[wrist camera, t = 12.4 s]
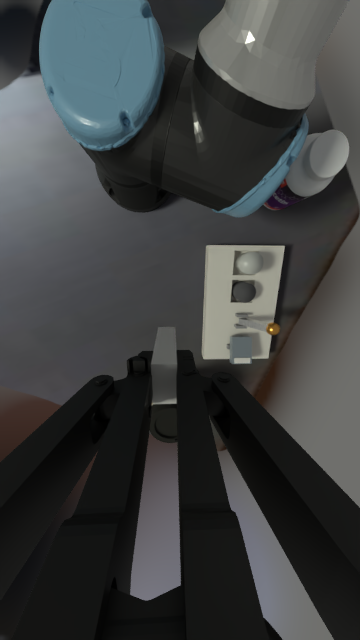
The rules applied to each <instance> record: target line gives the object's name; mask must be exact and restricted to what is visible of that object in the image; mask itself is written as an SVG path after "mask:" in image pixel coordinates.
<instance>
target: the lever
mask: <svg viewBox="0 0 360 640" xmlns="http://www.w3.org/2000/svg"><path fill="white" fill-rule="evenodd" d="M238 324H239V325H243V326H246V327H250V328H254V329H257V330H261V331H264V332H267V333H268V334H270V335H276V334H278V333H279V331H280V326H279V325H278V324H277V323H275V322H271V323H267V322H263V321H259V320H254V319H250V318H246V317H241V318H239V322H238Z"/></svg>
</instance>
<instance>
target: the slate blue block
mask: <svg viewBox="0 0 360 640" xmlns="http://www.w3.org/2000/svg"><path fill="white" fill-rule="evenodd" d="M230 363H232V364H252V337H250V336H230Z"/></svg>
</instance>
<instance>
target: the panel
mask: <svg viewBox="0 0 360 640" xmlns="http://www.w3.org/2000/svg"><path fill="white" fill-rule="evenodd" d="M284 249H285V246H249V245H208V246H206V263H205V287H204V312H203V337H202V356H203V359H230V336H250V337H252V359H255V358H268V356H269V350H270V343H271V336H272V335H270V334H268V333H267V332H264V331H261V330H257V329H254V328H250V327H246V326H243V325H239V324H238V322H239V318H241V317H246V318H250V319H254V320H259V321H263V322H267V323H271V322H274V316H275V309H276V303H277V296H278V289H279V283H280V276H281V269H282V262H283V256H284ZM247 252H257V253H259V254H261V256H262V257H263V261H264V263H263V267H262V269H261V270H260V271H259V272H258V273H256V274H253V275H250V274H245V273H241V272H239V271H238V270H237V268H236V259H237V258H238V256H239V255H241V254H242V253H247ZM238 281H244V282H247V283H251V284H252V285H254V287H255V288H256V295H255V297H254V299H253V300H252V301H250V302H248V303H243V302H240V301H239V300H237V299H235V298H234V297H233V296H232V294H231V290H232V286H233V284H234V283H236V282H238Z"/></svg>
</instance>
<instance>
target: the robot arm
mask: <svg viewBox="0 0 360 640" xmlns="http://www.w3.org/2000/svg"><path fill="white" fill-rule="evenodd" d="M348 2H349V0H226V2H225V5H224V7H223V9H222V11H221V12H220V13H219V14H218V15H217V16H216V17H215V18H214V19H213V20H212V21H211V22H210V23H209V24H208V25H207V26H206V27H205V28H204V29H203V30H202V31H201V32H200V35H199V39H198V44H197V50H196V55H195V60H192V59H190V58H188V57H186V56H184V55H182V54H180V53H178V52H176V51H174V50H172V49H170V48H168V47H166V46H164V44H163V37H162V34H161V30H160V28H159V25H158V23H157V21H156V19H155V18H154V17H153V15H152V12H151V7H150V5H149V3H148V1H147V0H52V1H51V3H50V5H49V7H48V9H47V12H46V15H45V17H44V21H43V24H42V29H41V34H40V44H39V56H40V68H41V74H42V78H43V82H44V86H45V89H46V92H47V94H48V97H49V99H50V101H51V103H52V105H53V107H54V109H55V111H56V112H57V114H58V115H59V117H60V118H61V120H62V121H63V124H64V126H65V128H66V130H67V131H68V133H69V134H70V135H71V136H72V137H73V138H74V139H75V140H76V141H77V142H78V143H79V144H80V145H81V146H82V148H83V149H84V150H85V151H86V153H87V154H88V155H89V156H90V158H91V159H92V160H93V161H94V163H95V166H96V171H97V175H98V178H99V180H100V182H101V184H102V186H103V188H104V189H105V191H106V192H107V194H108V195H109V196H110V197H111V198H112V199H113V200H114V201H115V202H116V203H117V204H118V205H120V206H121V207H123V208H125V209H127V210H130V211H133V212H148V211H151V210H154V209H156V208H158V207H159V206H161V205H162V204H163V203H164V202H165V201H166V200H167V199H168V197H169V196H170V194H171V193H174V194H176V195H179V196H181V197H184V198H186V199H189V200H191V201H194V202H196V203H199V204H201V205H204V206H206V207H209V208H211V209H212V210H213V211H214V212H216V213H225V214H227V215H230V216H233V217H246V216H248V215H250V214H252V213H254V212H255V211H256V210H258V209H259V208H260V207H261V206H262V205H263V204H264V203H265V202H266V201H267V200H268V199H269V198H270V197H271V196H272V195H273V193H274V192H275V191H276V190H277V188H278V187H279V186H280V184H281V183H282V182H283V180H284V179H285V177H286V176H287V174H288V173H289V171H290V165H291V164H292V163H293V162H294V161H295V160H296V159H297V157H298V155H299V153H300V152H301V150H302V147H303V145H304V143H305V140H306V137H307V134H308V125H309V122H308V119H307V117H306V114H305V111H306V110H307V108H308V107H309V105H310V103H311V102H312V100H313V98H314V96H315V66H316V61H317V58H318V56H319V54H320V52H321V50H322V49H323V47H324V45H325V43H326V42H327V40H328V38H329V36H330V34H331V33H332V31H333V29H334V27H335V25H336V24H337V22H338V20H339V18H340V16H341V15H342V13H343V11H344V9H345V8H346V6H347V4H348ZM127 369H128V375H127V377H126V378H124V379H121V380H117V381H114V380H113V377H112V376H109V375H100V376H97V377H94V378H93V379H91V380H90V381H89V382H88V383H87V384H86V385H84V386H83V387H82V388H81V389H80V390H79V391H78V392H77V393H76V394H75V395H73V396H72V397H71V398H70V399H69V400H68V401H67V402H66V403H65V404H64V405H63V406H61V407H60V408H59V409H58V410H57V411H56V412H55V413H54V414H53V415H52V416H51V417H49V418H48V419H47V420H46V421H45V422H44V423H43V424H42V425H41V426H39V428H37V429H36V430H35V431H34V432H33V433H32V434H31V435H30V436H29V437H27V438H26V439H25V440H24V441H23V442H22V443H21V444H20V445H19V446H18V447H17V448H15V449H14V450H13V451H12V452H11V453H10V454H9V455H8V456H7V457H6V458H4V459H3V460H2V461H1V462H0V600H1V599H2V597H3V595H4V594H5V593H6V591H7V589H8V588H9V587H10V585H11V584H12V582H13V580H14V579H15V577H16V576H17V574H18V573H19V571H20V570H21V568H22V566H23V565H24V564H25V562H26V560H27V559H28V557H29V556H30V554H31V553H32V551H33V549H34V548H35V546H36V545H37V543H38V542H39V540H40V539H41V537H42V536H43V534H44V533H45V531H46V530H47V528H48V527H49V525H50V523H51V522H52V520H53V519H54V517H55V516H56V514H57V513H58V511H59V510H60V508H61V507H62V505H63V503H64V502H65V500H66V499H67V497H68V496H69V494H70V493H71V491H72V490H73V488H74V487H75V485H76V484H77V482H78V480H79V479H80V477H81V476H82V474H83V473H84V471H85V470H86V468H87V467H88V465H89V463H90V462H91V460H92V459H93V457H94V456H95V454H96V453H97V451H98V453H97V455H96V458H95V461H94V463H93V466H92V468H91V471H90V474H89V476H88V479H87V481H86V484H85V486H84V489H83V492H82V494H81V497H80V499H79V502H78V505H77V508H76V510H75V512H74V514H73V516H72V517H71V518H69V519H66V520H65V521H64V522H63V523H62V525H61V526H60V528H59V530H58V532H57V534H56V536H55V538H54V541H53V542H52V545H51V547H50V550H49V552H48V554H47V557H46V559H45V562H44V564H43V566H42V569H41V571H40V574H39V576H38V578H37V580H36V583H35V585H34V588H33V590H32V592H31V595H30V597H29V599H28V602H27V604H26V607H25V609H24V611H23V614H22V616H21V618H20V621H19V623H18V625H17V628H16V631H15V633H14V635H13V637H12V640H282V638H281V637H280V636H279V634H278V633H277V632H276V631H275V630H274V628H272V626H271V625H270V624H269V623H268V622H267V620H266V619H265V618H263V615H262V611H261V607H260V603H259V599H258V595H257V591H256V587H255V583H254V579H253V575H252V571H251V567H250V563H249V559H248V555H247V552H246V547H245V543H244V540H243V536H242V532H241V528H240V525H239V521H238V518H237V516H236V513H235V512H234V511H232V510H231V508H230V505H229V501H228V496H227V493H226V488H225V484H224V479H223V475H222V471H221V466H220V462H219V458H218V454H217V449H216V445H215V440H214V436H213V432H212V427H211V423H210V419H211V421H212V423H213V425H214V427H215V428H216V430H217V432H218V434H219V435H220V437H221V439H222V441H223V443H224V444H225V446H226V448H227V450H228V452H229V453H230V455H231V457H232V459H233V461H234V462H235V464H236V466H237V468H238V470H239V471H240V473H241V475H242V477H243V479H244V480H245V482H246V484H247V486H248V488H249V489H250V491H251V493H252V495H253V496H254V498H255V500H256V502H257V503H258V505H259V507H260V509H261V511H262V513H263V514H264V516H265V518H266V520H267V522H268V523H269V525H270V527H271V529H272V531H273V532H274V534H275V536H276V538H277V540H278V541H279V543H280V545H281V547H282V549H283V550H284V552H285V554H286V556H287V558H288V559H289V561H290V563H291V565H292V566H293V568H294V570H295V572H296V574H297V575H298V577H299V579H300V581H301V583H302V584H303V586H304V588H305V590H306V592H307V593H308V595H309V597H310V599H311V601H312V602H313V604H314V606H315V608H316V609H317V611H318V613H319V615H320V617H321V618H322V620H323V622H324V623H325V625H326V627H327V628H328V630H329V632H330V633H331V635H332V637H333V638H334V640H360V508H359V506H358V505H356V504H355V502H354V501H352V499H351V498H350V497H349V496H348V495H347V494H346V493H345V492H344V491H343V490H342V489H341V488H340V487H339V486H338V485H337V484H336V483H335V482H334V481H333V479H332V478H331V477H330V476H329V475H328V474H327V473H326V472H325V471H324V470H323V469H322V468H321V467H320V466H319V465H318V464H317V463H316V462H315V461H314V460H313V459H312V458H311V457H310V455H309V454H307V452H306V451H305V450H304V449H303V448H302V447H301V446H300V445H299V444H298V443H297V442H296V441H295V440H294V439H293V438H292V437H291V436H290V435H289V434H288V433H287V432H286V431H285V429H284V428H283V427H282V426H281V425H280V424H279V423H278V422H277V421H276V420H275V419H274V418H273V417H272V416H271V415H270V414H269V413H268V412H267V411H266V410H265V409H264V408H263V407H262V406H261V405H260V404H259V402H258V401H257V400H256V399H255V398H254V397H253V396H252V395H251V394H250V393H249V392H248V391H247V390H246V389H245V388H244V387H243V386H242V385H241V384H240V383H239V382H238V381H237V380H236V378H235V377H233V376H232V375H231V374H228V373H224V372H218V373H215V374H214V375H212V378H207V377H203V376H201V375H199V372H198V370H196V367H195V362H194V358H193V353H192V352H191V351H190V350H176V332H175V327H158V332H157V337H156V342H155V347H154V351H142V352H141V353H139V354H138V356H134V357H131V358H130V359H128V360H127ZM152 403H153V404H177V446H178V483H179V484H178V485H179V522H180V523H179V524H180V562H181V586H178V587H177V588H174V589H172V590H170V591H168V592H166V593H164V594H162V595H160V596H158V597H156V598H154V599H152V600H148V601H145V600H141V599H139V598H136V597H134V596H131V595H130V585H131V584H130V583H131V570H132V562H133V554H134V546H135V538H136V531H137V523H138V515H139V508H140V499H141V492H142V484H143V477H144V468H145V461H146V453H147V445H148V438H149V430H150V423H151V415H152ZM209 416H210V419H209Z"/></svg>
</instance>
